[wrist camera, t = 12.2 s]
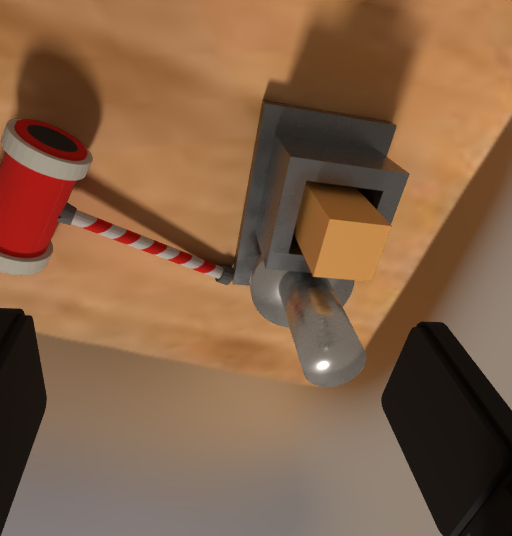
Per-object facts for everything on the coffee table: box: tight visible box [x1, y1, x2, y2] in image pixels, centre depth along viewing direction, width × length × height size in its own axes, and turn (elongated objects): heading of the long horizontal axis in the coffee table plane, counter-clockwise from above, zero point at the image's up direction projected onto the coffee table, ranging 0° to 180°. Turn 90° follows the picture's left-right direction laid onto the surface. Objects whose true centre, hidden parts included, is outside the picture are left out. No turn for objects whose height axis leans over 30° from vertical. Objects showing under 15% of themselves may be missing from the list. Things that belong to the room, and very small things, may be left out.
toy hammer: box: [0, 119, 234, 285], centre depth 38 cm, size 23×12×6 cm, turn 58°
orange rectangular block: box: [294, 181, 392, 282], centre depth 34 cm, size 4×4×12 cm
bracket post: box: [232, 100, 409, 387], centre depth 35 cm, size 20×12×16 cm, turn 170°
